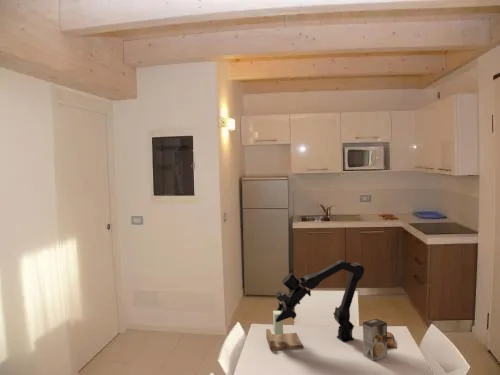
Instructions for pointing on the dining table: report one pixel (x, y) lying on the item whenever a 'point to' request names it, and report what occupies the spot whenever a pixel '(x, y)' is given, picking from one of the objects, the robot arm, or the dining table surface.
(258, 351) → the dining table surface
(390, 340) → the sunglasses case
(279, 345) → the edge board
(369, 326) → the coffee box
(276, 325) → the pale green block
